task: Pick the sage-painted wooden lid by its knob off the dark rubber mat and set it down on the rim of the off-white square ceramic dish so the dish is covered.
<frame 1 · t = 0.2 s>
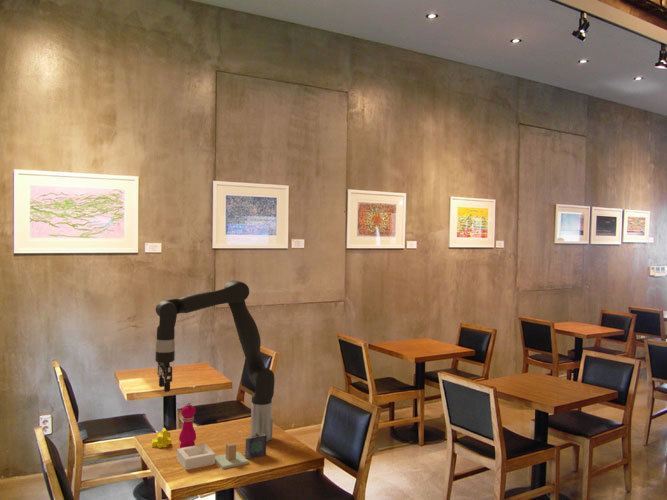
hand: (164, 388, 212), 29 cm above the table, fingers open, 8 cm apart
mat: (230, 462, 211), on the table
lid: (230, 461, 211), resting on mat
flask: (255, 457, 217), on the table
dish: (195, 462, 209), on the table
pepper mill: (187, 448, 224), on the table
yellow lumpy cluster: (161, 445, 226), on the table
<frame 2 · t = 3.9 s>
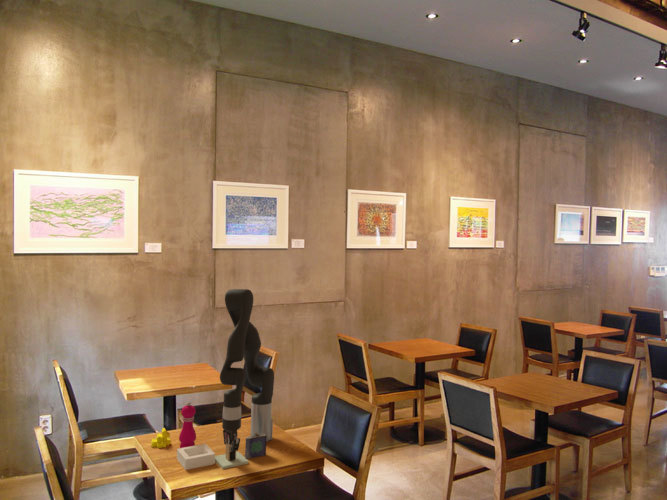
hand: (230, 458, 211), 2 cm above the table, fingers closed on lid, 3 cm apart
lid: (230, 461, 211), resting on mat, touching gripper
everything else where it was.
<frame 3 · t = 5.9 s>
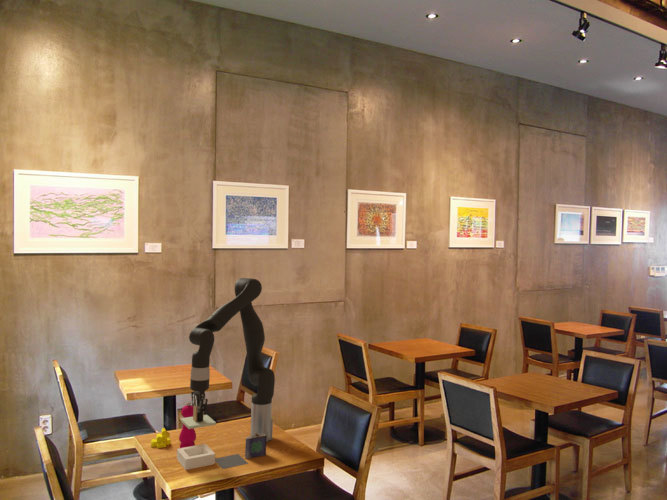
hand: (198, 419, 209), 18 cm above the table, fingers closed on lid, 3 cm apart
lid: (198, 422, 209), point 16 cm above the table, touching gripper
everything else where it was.
when the fingers open (7 cm above the table, at t = 8.1 s): lid drops 2 cm, resting on dish.
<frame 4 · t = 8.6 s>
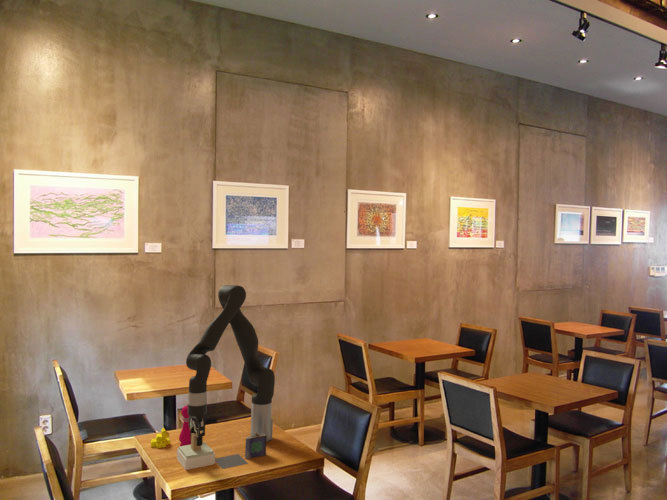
hand: (196, 442, 209), 8 cm above the table, fingers open, 8 cm apart
lid: (195, 451, 209), point 4 cm above the table, touching dish
everything else where it was.
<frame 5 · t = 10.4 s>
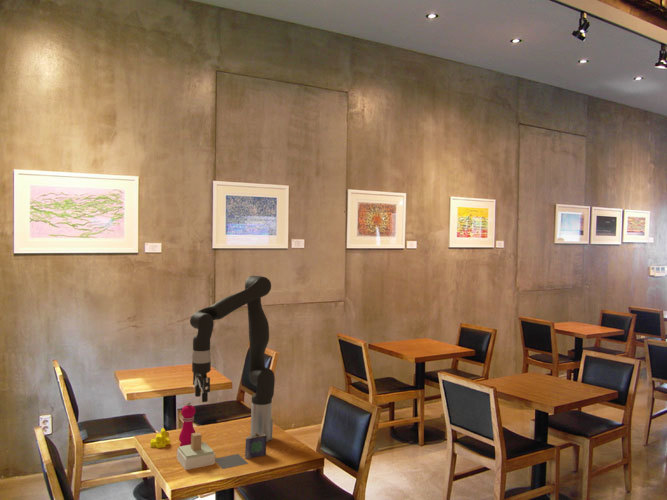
hand: (201, 399, 215), 24 cm above the table, fingers open, 8 cm apart
nothing on the table moved.
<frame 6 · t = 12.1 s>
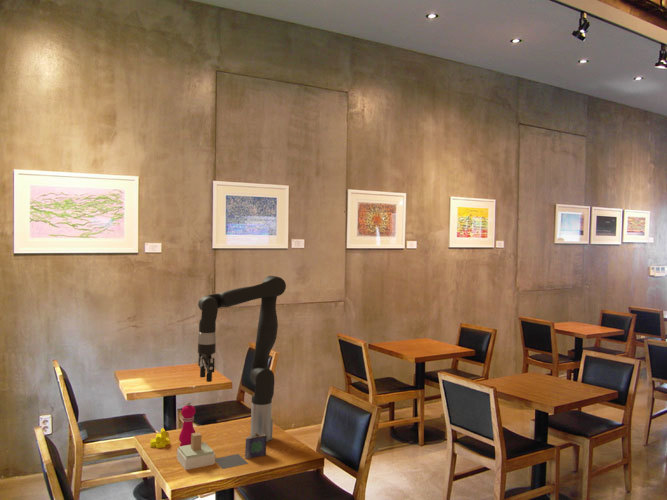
hand: (205, 379, 224), 30 cm above the table, fingers open, 8 cm apart
nothing on the table moved.
at the end: lid 0.1 cm off-centre on the dish, point 4.5 cm above the dish's base; lid tilted 0°; the gripper is holding nothing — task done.
